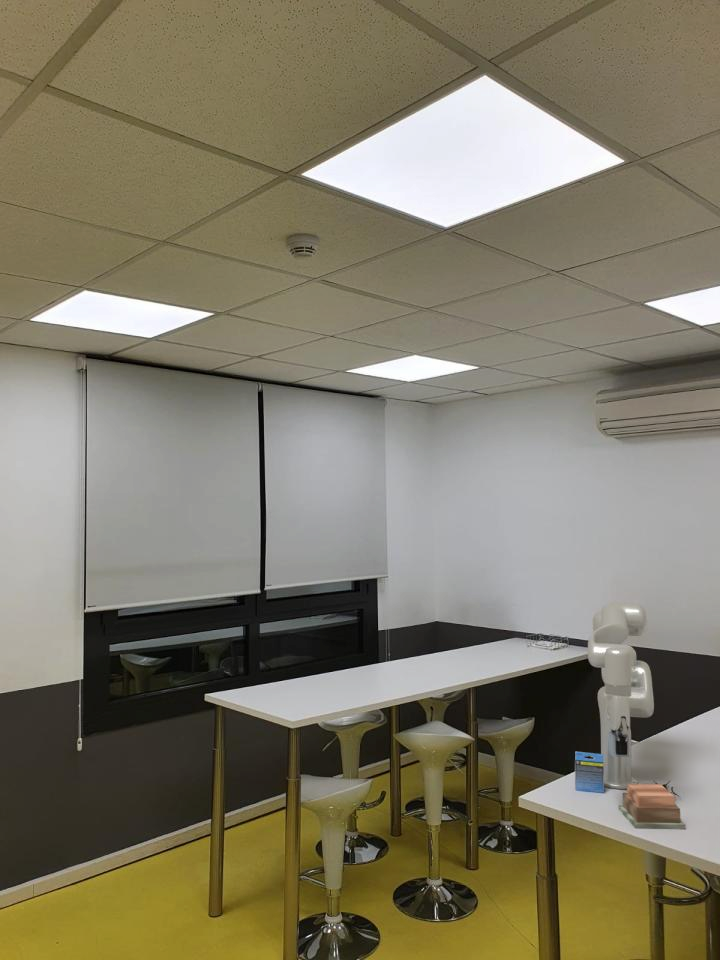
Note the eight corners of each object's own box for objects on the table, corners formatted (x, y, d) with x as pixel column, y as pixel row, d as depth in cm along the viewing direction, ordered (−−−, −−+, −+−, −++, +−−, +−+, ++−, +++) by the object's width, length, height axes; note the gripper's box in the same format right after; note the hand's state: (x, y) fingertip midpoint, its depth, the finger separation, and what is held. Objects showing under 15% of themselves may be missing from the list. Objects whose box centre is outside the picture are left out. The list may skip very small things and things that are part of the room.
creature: (685, 806, 225) (671, 791, 233) (687, 790, 224) (673, 776, 232) (661, 807, 224) (648, 792, 232) (663, 791, 223) (650, 776, 231)
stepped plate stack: (618, 809, 219) (618, 781, 220) (665, 810, 219) (665, 782, 219) (635, 828, 205) (634, 798, 206) (685, 829, 205) (684, 799, 205)
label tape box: (603, 789, 236) (603, 750, 237) (604, 793, 232) (603, 754, 233) (575, 786, 238) (574, 748, 239) (575, 790, 234) (574, 751, 235)
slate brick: (608, 752, 221) (608, 729, 221) (624, 752, 221) (623, 730, 221) (613, 756, 216) (613, 733, 217) (628, 757, 216) (628, 734, 217)
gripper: (597, 683, 228) (598, 743, 227) (613, 695, 212) (614, 760, 210) (622, 684, 228) (623, 744, 227) (639, 696, 211) (640, 761, 210)
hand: (618, 751), depth 218 cm, fingers closed on slate brick, 4 cm apart
